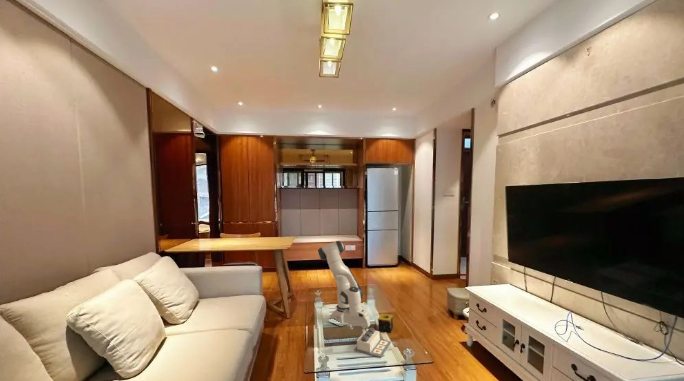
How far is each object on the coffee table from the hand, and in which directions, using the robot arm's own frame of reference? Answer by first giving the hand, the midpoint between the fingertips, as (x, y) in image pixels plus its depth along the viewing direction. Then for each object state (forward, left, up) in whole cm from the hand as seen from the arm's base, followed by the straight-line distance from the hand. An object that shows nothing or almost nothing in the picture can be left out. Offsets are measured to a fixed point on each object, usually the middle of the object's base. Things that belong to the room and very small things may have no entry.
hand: (357, 330), depth 181 cm
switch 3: (+5, +6, -9) cm, 12 cm away
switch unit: (+8, +6, -13) cm, 16 cm away
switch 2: (+5, +12, -10) cm, 16 cm away
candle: (+8, +32, -13) cm, 35 cm away
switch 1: (+5, +1, -9) cm, 11 cm away
